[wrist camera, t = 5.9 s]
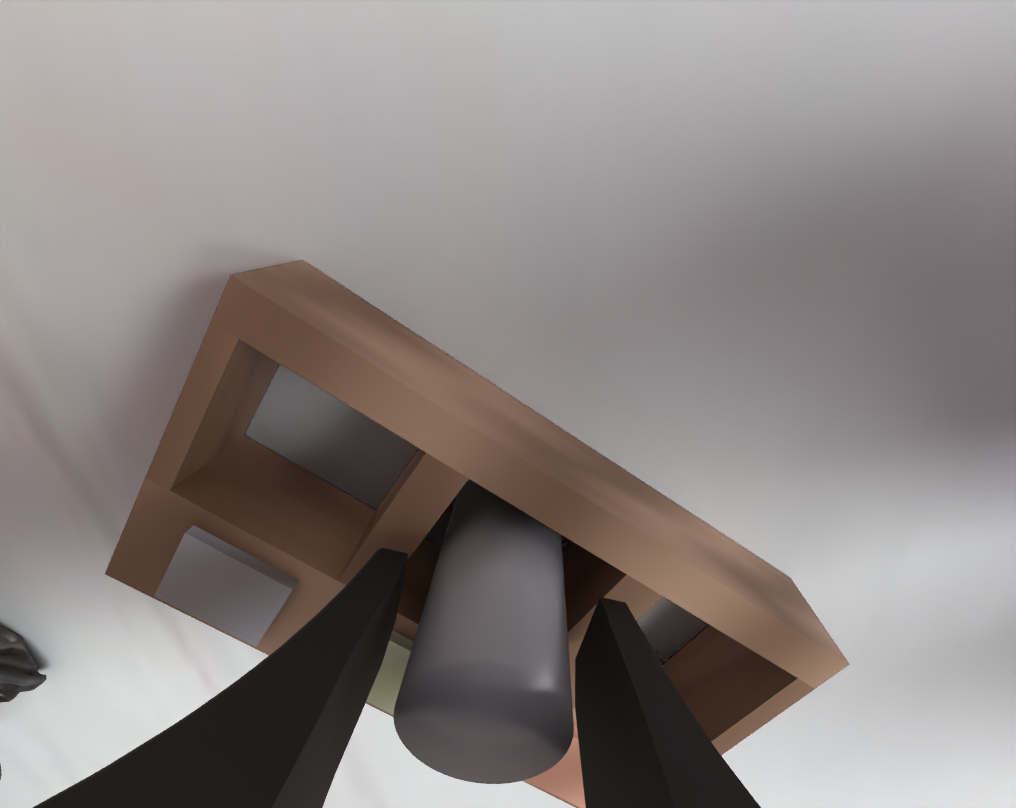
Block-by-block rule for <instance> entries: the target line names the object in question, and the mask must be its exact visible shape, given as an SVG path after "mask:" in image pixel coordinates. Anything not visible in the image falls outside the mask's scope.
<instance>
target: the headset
mask: <svg viewBox="0 0 1016 808" xmlns="http://www.w3.org/2000/svg"><path fill="white" fill-rule="evenodd" d="M37 669H38V666H37V665H36V664H35V662H34V661H33V659H32V657H31V655H30V653H29V651H28V649H27V647H26V645H25V643H24V642H23V640H22V638H21V636H19V635H17V634H15V633H14V632H12V631H10V630H8V629H6V628H4V627H2V626H0V702H9V701H11V700H12V699H14V698H15V697H16V696H17V695H18V694H19V692H24V691H30V690H34V689H35V688H36V687H38V686H39V685H41V684H42V683H43V682H44V681H45V680H46V675H42V674H40V673H39V672H38V671H37ZM0 779H1V765H0Z"/></svg>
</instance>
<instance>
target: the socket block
mask: <svg viewBox="0 0 1016 808" xmlns="http://www.w3.org/2000/svg"><path fill="white" fill-rule="evenodd" d="M279 364H281V365H283V366H284V367H286V368H288V369H289V370H291V371H293V372H294V373H296V374H298V375H299V376H301V377H303V378H304V379H306V380H307V381H309V382H311V383H312V384H314V385H316V386H317V387H319V388H321V389H322V390H324V391H326V392H327V393H329V394H331V395H332V396H334V397H335V398H337V399H339V400H340V401H342V402H344V403H345V404H347V405H349V406H350V407H352V408H354V409H355V410H357V411H359V412H360V413H362V414H363V415H365V416H367V417H368V418H370V419H372V420H373V421H375V422H377V423H378V424H380V425H382V426H383V427H385V428H387V429H388V430H390V431H391V432H393V433H395V434H396V435H398V436H400V437H401V438H403V439H405V440H406V441H408V442H410V443H411V444H413V445H415V446H416V447H418V450H417V451H416V453H415V454H414V456H413V457H412V458H411V460H410V461H409V463H408V464H407V466H406V467H405V469H404V470H403V472H402V473H401V475H400V476H399V478H398V479H397V481H396V482H395V484H394V485H393V486H392V488H391V489H390V491H389V492H388V494H387V495H386V497H385V498H384V500H383V501H382V503H381V504H380V506H379V507H378V509H377V510H374V509H373V508H371V507H369V506H367V505H366V504H364V503H362V502H360V501H359V500H357V499H355V498H353V497H352V496H350V495H348V494H346V493H345V492H343V491H341V490H340V489H338V488H336V487H334V486H333V485H331V484H329V483H327V482H326V481H324V480H322V479H320V478H319V477H317V476H315V475H313V474H312V473H310V472H308V471H306V470H305V469H303V468H301V467H299V466H298V465H296V464H294V463H292V462H291V461H289V460H287V459H285V458H284V457H282V456H280V455H278V454H277V453H275V452H273V451H271V450H270V449H268V448H266V447H264V446H263V445H261V444H259V443H257V442H256V441H254V440H252V439H250V438H249V437H247V436H245V435H244V434H245V432H246V430H247V428H248V426H249V424H250V422H251V420H252V418H253V416H254V414H255V412H256V410H257V408H258V406H259V404H260V402H261V400H262V398H263V396H264V394H265V392H266V390H267V388H268V386H269V384H270V382H271V380H272V378H273V376H274V374H275V372H276V370H277V368H278V366H279ZM468 479H471V480H472V481H474V482H475V483H477V484H479V485H480V486H482V487H484V488H485V489H487V490H489V491H490V492H492V493H494V494H495V495H497V496H499V497H500V498H502V499H503V500H505V501H507V502H508V503H510V504H512V505H513V506H515V507H517V508H518V509H520V510H522V511H523V512H525V513H527V514H528V515H530V516H531V517H533V518H535V519H536V520H538V521H540V522H541V523H543V524H545V525H546V526H548V527H550V528H551V529H553V530H555V531H556V532H558V533H559V534H561V535H563V536H564V537H566V538H568V539H569V540H571V541H573V542H572V544H571V545H570V546H569V547H568V548H567V549H566V550H565V551H564V552H563V553H562V554H563V569H564V585H565V600H566V615H567V630H568V646H569V661H570V676H571V692H572V707H573V722H574V734H573V739H572V743H571V746H570V747H569V749H568V751H567V753H566V754H565V755H564V757H563V758H562V759H561V760H560V761H559V762H558V763H557V764H556V765H555V766H553V767H552V768H550V769H549V770H547V771H545V772H543V773H542V774H540V775H537V776H535V777H532V778H529V779H526V780H522V781H524V782H526V783H528V784H530V785H532V786H534V787H536V788H538V789H540V790H542V791H544V792H546V793H548V794H550V795H552V796H554V797H556V798H558V799H560V800H562V801H564V802H566V803H568V804H570V805H572V806H574V807H576V808H586V806H585V797H584V788H583V778H582V769H581V760H580V751H579V741H578V731H577V721H576V711H575V658H576V656H577V653H578V651H579V648H580V646H581V643H582V641H583V638H584V636H585V633H586V631H587V628H588V626H589V623H590V621H591V618H592V615H593V613H594V610H595V608H596V605H597V603H598V600H599V598H600V597H603V598H608V599H612V600H617V601H621V602H626V604H627V606H628V608H629V609H630V611H631V613H632V614H633V616H634V618H635V620H636V621H637V620H638V619H639V618H640V617H642V616H643V615H644V614H645V613H646V612H647V611H648V610H649V609H650V608H651V607H652V606H653V605H655V604H656V603H657V602H658V601H659V600H660V599H661V598H662V597H665V598H667V599H668V600H670V601H671V602H673V603H675V604H676V605H678V606H680V607H681V608H683V609H685V610H686V611H688V612H690V613H691V614H693V615H695V616H696V617H698V618H699V619H701V620H703V621H704V622H706V623H708V624H709V626H708V627H707V628H705V629H704V630H703V631H702V632H701V633H699V634H698V635H697V636H696V637H695V638H694V639H692V640H691V641H690V642H689V643H688V644H687V645H685V646H684V647H683V648H682V649H681V650H680V651H678V652H677V653H676V654H675V655H674V656H672V657H671V658H670V659H669V660H668V661H667V662H665V663H664V664H663V665H662V666H663V668H664V670H665V671H666V673H667V675H668V676H669V678H670V680H671V681H672V683H673V684H674V686H675V688H676V689H677V691H678V692H679V694H680V696H681V697H682V699H683V701H684V702H685V704H686V705H687V707H688V708H689V710H690V711H691V713H692V714H693V716H694V717H695V719H696V720H697V722H698V723H699V725H700V726H701V728H702V729H703V731H704V732H705V734H706V735H707V736H708V738H709V739H710V741H711V742H712V744H713V745H714V747H715V748H716V749H717V751H718V752H719V753H720V755H722V754H724V753H725V752H727V751H728V750H729V749H731V748H732V747H734V746H735V745H736V744H738V743H739V742H741V741H742V740H743V739H745V738H746V737H748V736H749V735H751V734H752V733H753V732H755V731H756V730H758V729H759V728H760V727H762V726H763V725H765V724H766V723H767V722H769V721H770V720H772V719H773V718H774V717H776V716H777V715H779V714H780V713H782V712H783V711H784V710H786V709H787V708H789V707H790V706H791V705H793V704H794V703H796V702H797V701H798V700H800V699H801V698H803V697H804V696H805V695H807V694H808V693H810V692H811V691H813V690H814V689H815V688H817V687H818V686H820V685H821V684H822V683H824V682H825V681H827V680H828V679H829V678H831V677H832V676H834V675H835V674H836V673H838V672H839V671H841V670H842V669H844V668H845V667H846V666H848V665H849V662H848V661H847V660H846V658H845V657H844V655H843V654H842V652H841V651H840V649H839V648H838V646H837V645H836V644H835V642H834V641H833V639H832V638H831V636H830V635H829V633H828V632H827V630H826V629H825V628H824V626H823V625H822V623H821V622H820V620H819V619H818V617H817V616H816V614H815V613H814V612H813V610H812V609H811V607H810V606H809V604H808V603H807V601H806V600H805V598H804V597H803V596H802V594H801V593H800V591H799V590H798V588H797V587H796V585H795V584H794V582H793V581H792V580H791V578H790V577H788V576H787V575H785V574H784V573H782V572H781V571H779V570H778V569H776V568H774V567H773V566H771V565H770V564H768V563H767V562H765V561H764V560H762V559H761V558H759V557H758V556H756V555H755V554H753V553H751V552H750V551H748V550H747V549H745V548H744V547H742V546H741V545H739V544H738V543H736V542H735V541H733V540H732V539H730V538H728V537H727V536H725V535H724V534H722V533H721V532H719V531H718V530H716V529H715V528H713V527H712V526H710V525H709V524H707V523H705V522H704V521H702V520H701V519H699V518H698V517H696V516H695V515H693V514H692V513H690V512H689V511H687V510H685V509H684V508H682V507H681V506H679V505H678V504H676V503H675V502H673V501H672V500H670V499H669V498H667V497H666V496H664V495H662V494H661V493H659V492H658V491H656V490H655V489H653V488H652V487H650V486H649V485H647V484H646V483H644V482H643V481H641V480H639V479H638V478H636V477H635V476H633V475H632V474H630V473H629V472H627V471H626V470H624V469H623V468H621V467H620V466H618V465H616V464H615V463H613V462H612V461H610V460H609V459H607V458H606V457H604V456H603V455H601V454H600V453H598V452H596V451H595V450H593V449H592V448H590V447H589V446H587V445H586V444H584V443H583V442H581V441H580V440H578V439H577V438H575V437H573V436H572V435H570V434H569V433H567V432H566V431H564V430H563V429H561V428H560V427H558V426H557V425H555V424H554V423H552V422H550V421H549V420H547V419H546V418H544V417H543V416H541V415H540V414H538V413H537V412H535V411H534V410H532V409H530V408H529V407H527V406H526V405H524V404H523V403H521V402H520V401H518V400H517V399H515V398H514V397H512V396H511V395H509V394H507V393H506V392H504V391H503V390H501V389H500V388H498V387H497V386H495V385H494V384H492V383H491V382H489V381H488V380H486V379H484V378H483V377H481V376H480V375H478V374H477V373H475V372H474V371H472V370H471V369H469V368H468V367H466V366H465V365H463V364H461V363H460V362H458V361H457V360H455V359H454V358H452V357H451V356H449V355H448V354H446V353H445V352H443V351H441V350H440V349H438V348H437V347H435V346H434V345H432V344H431V343H429V342H428V341H426V340H425V339H423V338H422V337H420V336H418V335H417V334H415V333H414V332H412V331H411V330H409V329H408V328H406V327H405V326H403V325H402V324H400V323H399V322H397V321H395V320H394V319H392V318H391V317H389V316H388V315H386V314H385V313H383V312H382V311H380V310H379V309H377V308H375V307H374V306H372V305H371V304H369V303H368V302H366V301H365V300H363V299H362V298H360V297H359V296H357V295H356V294H354V293H352V292H351V291H349V290H348V289H346V288H345V287H343V286H342V285H340V284H339V283H337V282H336V281H334V280H333V279H331V278H329V277H328V276H326V275H325V274H323V273H322V272H320V271H319V270H317V269H316V268H314V267H313V266H311V265H310V264H308V263H306V262H305V261H303V260H302V261H297V262H292V263H287V264H282V265H277V266H272V267H267V268H262V269H257V270H252V271H247V272H242V273H237V274H232V275H230V278H229V280H228V282H227V285H226V287H225V289H224V292H223V294H222V297H221V299H220V301H219V304H218V306H217V308H216V311H215V313H214V316H213V318H212V320H211V323H210V325H209V328H208V330H207V332H206V335H205V337H204V339H203V342H202V344H201V347H200V349H199V351H198V354H197V356H196V358H195V361H194V363H193V366H192V368H191V370H190V373H189V375H188V377H187V380H186V382H185V385H184V387H183V389H182V392H181V394H180V397H179V399H178V401H177V404H176V406H175V408H174V411H173V413H172V416H171V418H170V420H169V423H168V425H167V427H166V430H165V432H164V435H163V437H162V439H161V442H160V444H159V447H158V449H157V451H156V454H155V456H154V458H153V461H152V463H151V466H150V468H149V470H148V473H147V475H146V477H145V480H144V482H143V485H142V487H141V489H140V492H139V494H138V496H137V499H136V501H135V504H134V506H133V508H132V511H131V513H130V516H129V518H128V520H127V523H126V525H125V527H124V530H123V532H122V535H121V537H120V539H119V542H118V544H117V546H116V549H115V551H114V554H113V556H112V558H111V561H110V563H109V566H108V568H107V570H106V573H105V574H106V575H108V576H110V577H112V578H114V579H116V580H118V581H120V582H122V583H124V584H126V585H128V586H130V587H132V588H134V589H136V590H138V591H140V592H142V593H144V594H146V595H148V596H150V597H152V598H154V599H157V600H159V601H161V602H163V603H165V604H167V605H169V606H171V607H173V608H175V609H177V610H179V611H181V612H183V613H185V614H187V615H189V616H191V617H193V618H195V619H197V620H199V621H201V622H203V623H205V624H207V625H209V626H211V627H213V628H215V629H217V630H219V631H221V632H223V633H225V634H227V635H229V636H231V637H233V638H235V639H237V640H239V641H241V642H243V643H245V644H247V645H249V646H251V647H253V648H255V649H257V650H259V651H261V652H263V653H265V654H267V655H271V654H272V653H273V652H274V651H275V650H277V649H278V648H279V647H280V646H281V645H283V644H284V643H285V642H286V641H287V640H288V639H290V638H291V637H292V636H293V635H294V634H295V633H296V632H297V631H299V630H300V629H301V628H302V627H303V626H304V625H305V624H307V623H308V622H309V621H310V620H311V619H312V618H313V617H314V616H315V615H317V614H318V613H319V612H320V611H321V610H322V609H323V608H324V607H325V606H326V605H327V604H328V603H329V602H330V601H331V600H332V599H333V598H334V597H335V596H336V595H337V594H338V593H339V592H340V591H341V590H342V589H343V588H344V587H345V586H346V585H347V584H348V583H349V582H350V581H351V580H352V579H353V578H354V577H355V575H356V574H357V573H358V572H359V571H360V570H361V569H362V568H363V567H364V565H365V564H366V563H367V562H368V561H369V560H370V558H371V557H372V556H373V555H374V553H375V552H376V551H377V550H379V549H381V548H386V549H390V550H394V551H399V552H403V553H408V557H407V563H406V568H405V574H404V579H403V585H402V590H401V595H400V601H399V606H398V612H397V617H396V621H395V624H394V628H393V631H392V634H391V637H390V640H389V643H388V647H387V650H386V653H385V656H384V659H383V662H382V665H381V667H380V670H379V672H378V674H377V677H376V679H375V682H374V684H373V686H372V689H371V691H370V693H369V696H368V698H367V700H366V704H368V705H370V706H372V707H374V708H376V709H378V710H380V711H382V712H384V713H386V714H389V715H391V716H393V715H394V706H395V703H396V700H397V696H398V693H399V690H400V686H401V683H402V679H403V676H404V673H405V669H406V666H407V662H408V659H409V656H410V652H411V649H412V646H413V642H414V639H415V635H416V632H417V629H418V625H419V622H420V619H421V615H422V612H423V608H424V605H425V602H426V598H427V595H428V591H429V588H430V585H431V581H432V578H433V575H434V571H435V568H436V564H437V561H438V558H439V554H440V551H441V547H439V546H437V545H436V544H434V543H432V542H430V541H429V540H427V539H425V536H426V535H427V534H428V532H429V531H430V530H431V528H432V527H433V526H434V524H435V523H436V522H437V520H438V519H439V518H440V516H441V515H442V514H443V512H444V511H445V510H446V508H447V507H448V506H449V505H450V503H451V502H452V501H453V499H454V498H455V497H456V495H457V494H458V493H459V491H460V490H461V489H462V487H463V486H464V485H465V483H466V482H467V481H468ZM393 717H394V716H393Z"/></svg>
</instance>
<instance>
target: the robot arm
mask: <svg viewBox="0 0 1016 808" xmlns="http://www.w3.org/2000/svg"><path fill="white" fill-rule="evenodd" d="M407 557H408V553H403V552H399V551H394V550H390V549H386V548H381V549H379V550H377V551H376V552H375V553H374V555H373V556H372V557H371V558H370V560H369V561H368V562H367V563H366V564H365V565H364V567H363V568H362V569H361V570H360V571H359V572H358V573H357V574H356V575H355V577H354V578H353V579H352V580H351V581H350V582H349V583H348V584H347V585H346V586H345V587H344V588H343V589H342V590H341V591H340V592H339V593H338V594H337V595H336V596H335V597H334V598H333V599H332V600H331V601H330V602H329V603H328V604H327V605H326V606H325V607H324V608H323V609H322V610H321V611H320V612H319V613H318V614H317V615H315V616H314V617H313V618H312V619H311V620H310V621H309V622H308V623H307V624H305V625H304V626H303V627H302V628H301V629H300V630H299V631H297V632H296V633H295V634H294V635H293V636H292V637H291V638H290V639H288V640H287V641H286V642H285V643H284V644H283V645H281V646H280V647H279V648H278V649H277V650H275V651H274V652H273V653H272V654H271V655H269V656H268V657H267V658H266V659H264V660H263V661H262V662H261V663H259V664H258V665H257V666H256V667H254V668H253V669H252V670H250V671H249V672H248V673H246V674H245V675H244V676H242V677H241V678H240V679H239V680H237V681H236V682H235V683H233V684H232V685H230V686H229V687H228V688H226V689H225V690H223V691H222V692H221V693H219V694H218V695H216V696H215V697H213V698H212V699H211V700H209V701H208V702H206V703H205V704H204V705H202V706H201V707H199V708H198V709H197V710H195V711H194V712H192V713H191V714H189V715H188V716H186V717H185V718H183V719H182V720H180V721H179V722H177V723H176V724H174V725H173V726H171V727H169V728H168V729H166V730H165V731H163V732H161V733H160V734H158V735H157V736H155V737H153V738H152V739H150V740H148V741H147V742H145V743H144V744H142V745H140V746H139V747H137V748H135V749H134V750H132V751H131V752H129V753H127V754H126V755H124V756H123V757H121V758H119V759H118V760H116V761H114V762H113V763H111V764H110V765H108V766H106V767H105V768H103V769H101V770H99V771H98V772H96V773H94V774H93V775H91V776H89V777H87V778H86V779H84V780H82V781H80V782H78V783H77V784H75V785H73V786H71V787H69V788H67V789H66V790H64V791H62V792H60V793H58V794H57V795H55V796H53V797H51V798H49V799H47V800H46V801H44V802H42V803H40V804H38V805H36V806H35V807H33V808H322V807H323V804H324V801H325V799H326V796H327V793H328V791H329V788H330V786H331V783H332V781H333V778H334V775H335V773H336V770H337V768H338V766H339V763H340V761H341V759H342V756H343V754H344V752H345V749H346V747H347V745H348V742H349V740H350V738H351V735H352V733H353V731H354V728H355V726H356V724H357V721H358V719H359V717H360V714H361V712H362V710H363V707H364V705H365V703H366V700H367V698H368V696H369V693H370V691H371V689H372V686H373V684H374V682H375V679H376V677H377V674H378V672H379V670H380V667H381V665H382V662H383V659H384V656H385V653H386V650H387V647H388V643H389V640H390V637H391V634H392V631H393V628H394V624H395V621H396V617H397V612H398V606H399V601H400V595H401V590H402V585H403V579H404V574H405V568H406V563H407ZM575 711H576V721H577V731H578V741H579V751H580V760H581V769H582V778H583V788H584V797H585V806H586V808H761V807H760V806H759V805H758V803H757V802H756V801H755V800H754V798H753V797H752V796H751V794H750V793H749V792H748V790H747V789H746V788H745V787H744V785H743V784H742V783H741V781H740V780H739V779H738V777H737V776H736V775H735V774H734V772H733V771H732V770H731V768H730V767H729V766H728V764H727V763H726V762H725V760H724V759H723V758H722V756H721V755H720V753H719V752H718V751H717V749H716V748H715V747H714V745H713V744H712V742H711V741H710V739H709V738H708V736H707V735H706V734H705V732H704V731H703V729H702V728H701V726H700V725H699V723H698V722H697V720H696V719H695V717H694V716H693V714H692V713H691V711H690V710H689V708H688V707H687V705H686V704H685V702H684V701H683V699H682V697H681V696H680V694H679V692H678V691H677V689H676V688H675V686H674V684H673V683H672V681H671V680H670V678H669V676H668V675H667V673H666V671H665V670H664V668H663V666H662V665H661V663H660V661H659V660H658V658H657V656H656V654H655V653H654V651H653V649H652V648H651V646H650V644H649V642H648V641H647V639H646V637H645V635H644V634H643V632H642V630H641V628H640V627H639V625H638V623H637V621H636V620H635V618H634V616H633V614H632V613H631V611H630V609H629V608H628V606H627V604H626V602H621V601H617V600H612V599H608V598H603V597H600V598H599V600H598V603H597V605H596V608H595V610H594V613H593V615H592V618H591V621H590V623H589V626H588V628H587V631H586V633H585V636H584V638H583V641H582V643H581V646H580V648H579V651H578V653H577V656H576V658H575Z"/></svg>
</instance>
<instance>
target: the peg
mask: <svg viewBox="0 0 1016 808" xmlns="http://www.w3.org/2000/svg"><path fill="white" fill-rule="evenodd" d="M393 716H394V724H395V728H396V731H397V733H398V735H399V738H400V739H401V741H402V742H403V744H404V745H405V747H406V748H407V749H408V750H409V751H410V752H411V753H412V754H413V755H414V756H415V757H416V758H417V759H418V760H420V761H421V762H423V763H424V764H426V765H427V766H429V767H431V768H432V769H434V770H436V771H438V772H440V773H443V774H445V775H448V776H451V777H453V778H457V779H461V780H464V781H470V782H475V783H486V784H502V783H512V782H517V781H522V780H526V779H529V778H532V777H535V776H537V775H540V774H542V773H543V772H545V771H547V770H549V769H550V768H552V767H553V766H555V765H556V764H557V763H558V762H559V761H560V760H561V759H562V758H563V757H564V755H565V754H566V753H567V751H568V749H569V747H570V746H571V743H572V739H573V734H574V722H573V707H572V692H571V676H570V661H569V646H568V630H567V615H566V600H565V585H564V569H563V554H562V539H561V534H559V533H558V532H556V531H555V530H553V529H551V528H550V527H548V526H546V525H545V524H543V523H541V522H540V521H538V520H536V519H535V518H533V517H531V516H530V515H528V514H527V513H525V512H523V511H522V510H520V509H518V508H517V507H515V506H513V505H512V504H510V503H508V502H507V501H505V500H503V499H502V498H500V497H499V496H497V495H495V494H494V493H492V492H490V491H489V490H487V489H485V488H484V487H482V486H480V485H479V484H477V483H475V482H474V481H472V480H471V479H469V480H468V481H467V482H466V483H465V485H464V486H463V487H462V489H461V490H460V491H459V493H458V495H457V497H456V500H455V503H454V507H453V510H452V514H451V517H450V520H449V524H448V527H447V531H446V534H445V537H444V541H443V544H442V547H441V551H440V554H439V558H438V561H437V564H436V568H435V571H434V575H433V578H432V581H431V585H430V588H429V591H428V595H427V598H426V602H425V605H424V608H423V612H422V615H421V619H420V622H419V625H418V629H417V632H416V635H415V639H414V642H413V646H412V649H411V652H410V656H409V659H408V662H407V666H406V669H405V673H404V676H403V679H402V683H401V686H400V690H399V693H398V696H397V700H396V703H395V706H394V715H393Z"/></svg>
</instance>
